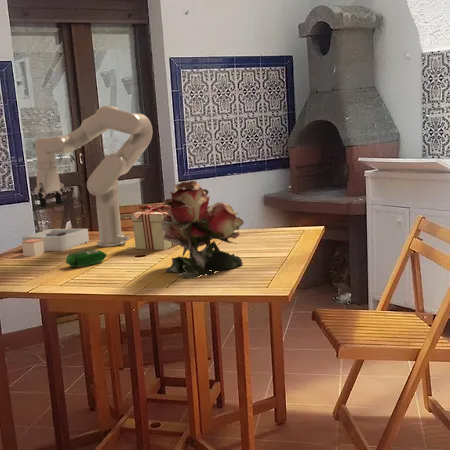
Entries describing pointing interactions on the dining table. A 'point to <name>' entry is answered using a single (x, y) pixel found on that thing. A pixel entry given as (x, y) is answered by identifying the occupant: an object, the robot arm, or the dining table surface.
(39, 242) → the orange and beige cube
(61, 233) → the block
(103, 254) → the snack package
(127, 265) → the dining table surface
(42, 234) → the tote
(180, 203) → the rose bouquet
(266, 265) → the dining table surface
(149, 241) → the gift box
